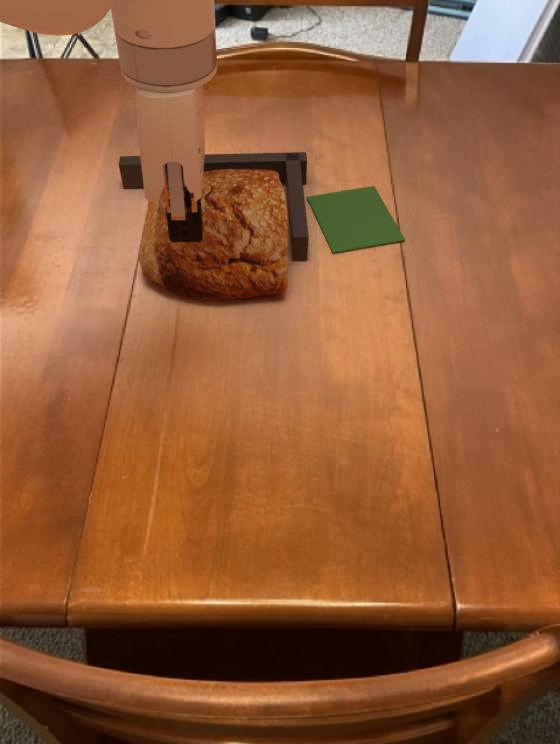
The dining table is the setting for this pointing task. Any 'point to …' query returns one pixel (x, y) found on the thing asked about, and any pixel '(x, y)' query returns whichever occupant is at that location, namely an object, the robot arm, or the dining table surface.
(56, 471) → the dining table surface
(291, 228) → the corner stop
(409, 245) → the dining table surface
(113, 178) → the dining table surface
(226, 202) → the bread
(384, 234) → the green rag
